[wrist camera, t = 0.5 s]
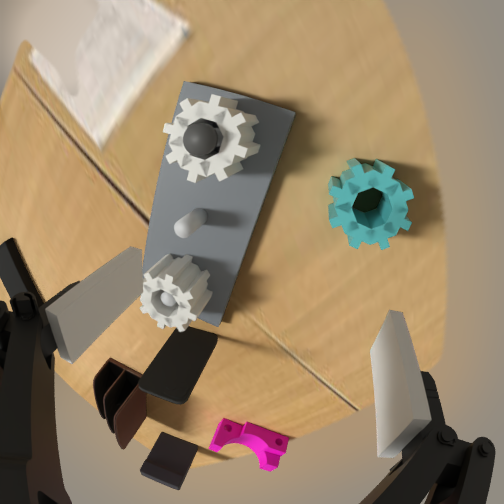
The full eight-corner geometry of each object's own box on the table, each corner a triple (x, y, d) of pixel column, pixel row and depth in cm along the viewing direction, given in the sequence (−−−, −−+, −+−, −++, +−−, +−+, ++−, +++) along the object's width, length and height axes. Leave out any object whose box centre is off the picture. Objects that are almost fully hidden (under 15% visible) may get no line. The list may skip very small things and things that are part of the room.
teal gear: (344, 144, 31) (348, 147, 26) (412, 177, 30) (428, 187, 25) (315, 214, 35) (313, 230, 30) (381, 243, 35) (390, 263, 29)
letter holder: (146, 375, 58) (115, 421, 45) (147, 416, 67) (124, 454, 54) (109, 356, 59) (75, 397, 46) (116, 399, 68) (91, 435, 55)
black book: (33, 322, 65) (26, 327, 63) (-3, 250, 58) (-11, 254, 55) (54, 319, 60) (46, 325, 58) (13, 236, 53) (4, 241, 51)
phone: (178, 326, 48) (135, 388, 35) (178, 322, 48) (134, 384, 35) (219, 338, 47) (184, 407, 34) (220, 334, 47) (183, 403, 33)
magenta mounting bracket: (289, 436, 56) (283, 464, 49) (276, 446, 59) (270, 471, 52) (227, 412, 56) (217, 439, 50) (218, 423, 59) (208, 448, 52)
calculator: (162, 436, 70) (141, 475, 57) (161, 430, 68) (139, 470, 55) (197, 450, 68) (179, 491, 55) (198, 444, 66) (178, 487, 53)
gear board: (189, 82, 32) (152, 73, 24) (296, 112, 31) (287, 107, 23) (144, 285, 46) (114, 314, 39) (221, 321, 45) (201, 358, 38)
